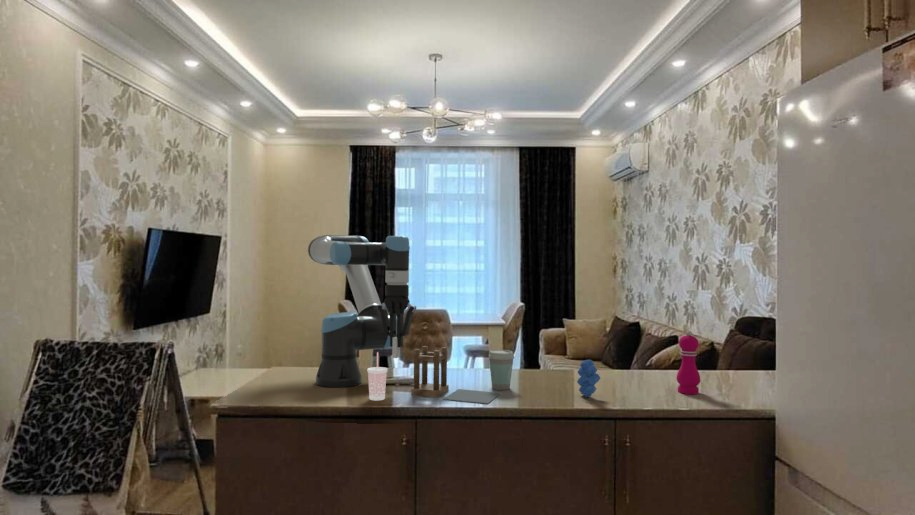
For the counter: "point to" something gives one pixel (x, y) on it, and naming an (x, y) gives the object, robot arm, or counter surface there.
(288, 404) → the counter surface
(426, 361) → the stool
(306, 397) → the counter surface
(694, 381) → the pepper mill
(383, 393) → the beverage cup
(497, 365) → the coffee cup
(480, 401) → the mat
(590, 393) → the grapes
